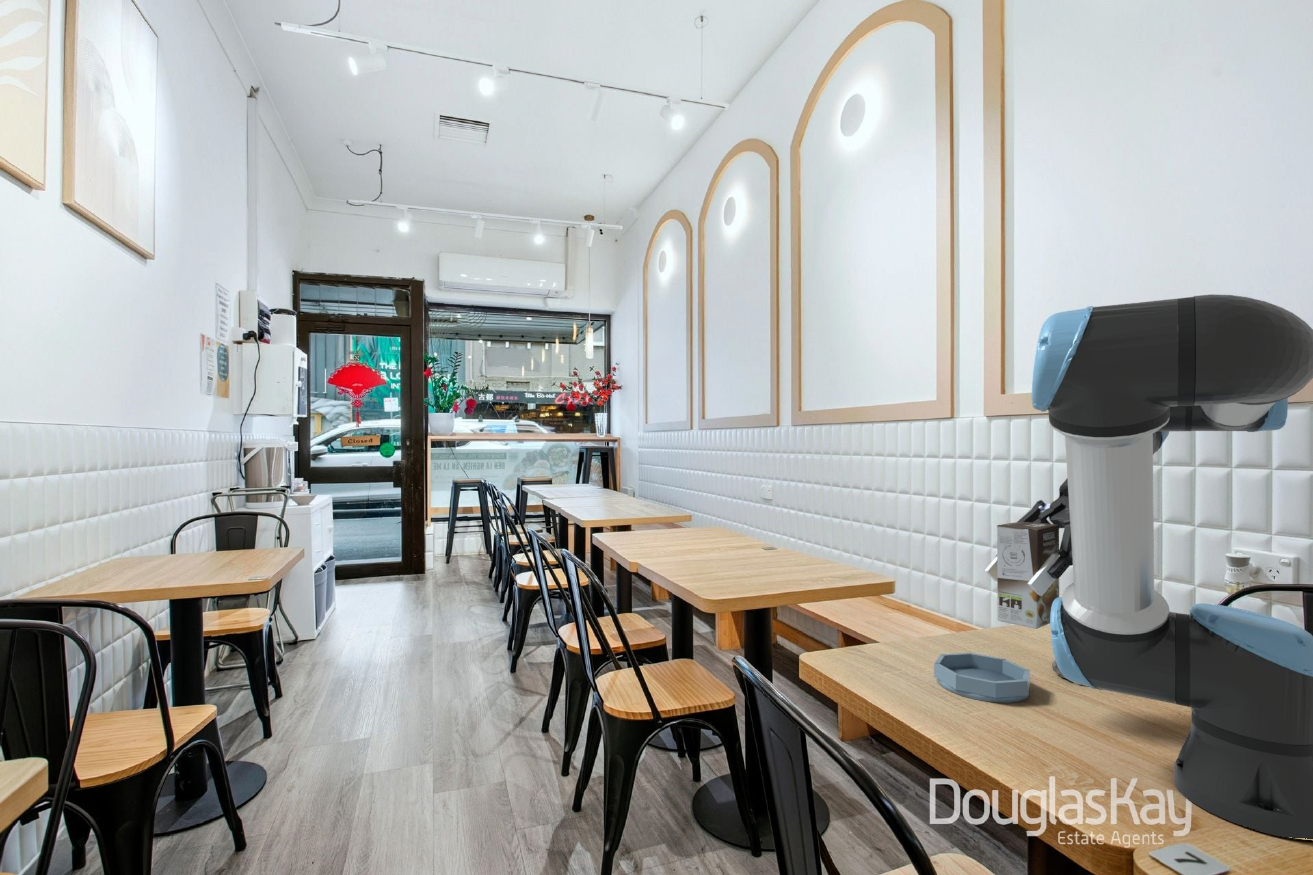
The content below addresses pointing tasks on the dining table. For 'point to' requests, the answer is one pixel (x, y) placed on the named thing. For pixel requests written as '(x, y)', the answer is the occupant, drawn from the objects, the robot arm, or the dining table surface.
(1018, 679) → the slate bowl
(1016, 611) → the coffee box
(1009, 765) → the dining table surface
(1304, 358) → the robot arm
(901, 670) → the dining table surface
